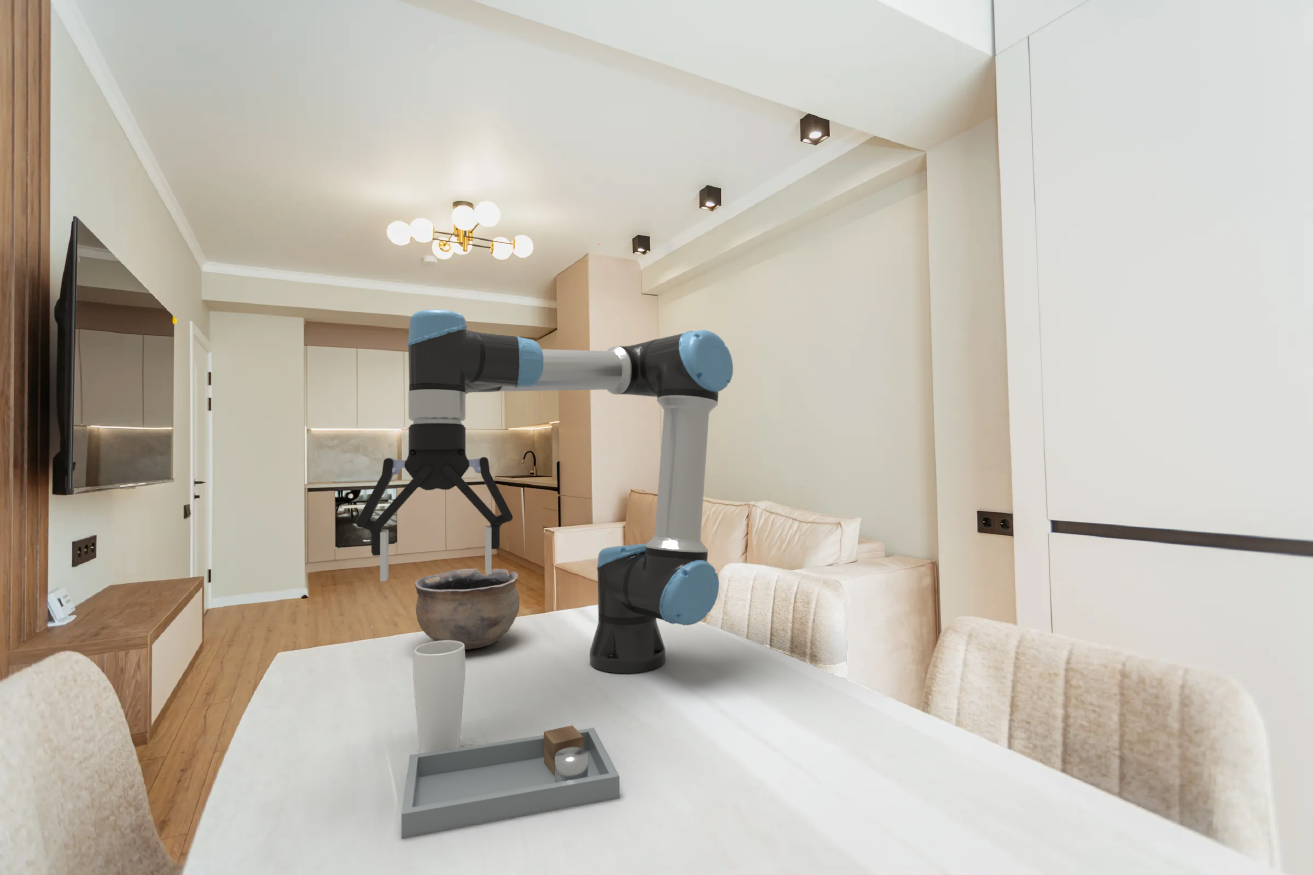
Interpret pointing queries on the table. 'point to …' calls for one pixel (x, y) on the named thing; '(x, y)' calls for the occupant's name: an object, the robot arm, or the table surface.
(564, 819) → the table surface
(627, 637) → the robot arm
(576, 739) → the walnut cube
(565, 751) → the metal cylinder
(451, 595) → the ceramic bowl
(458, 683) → the drinking glass
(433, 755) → the collection tray
